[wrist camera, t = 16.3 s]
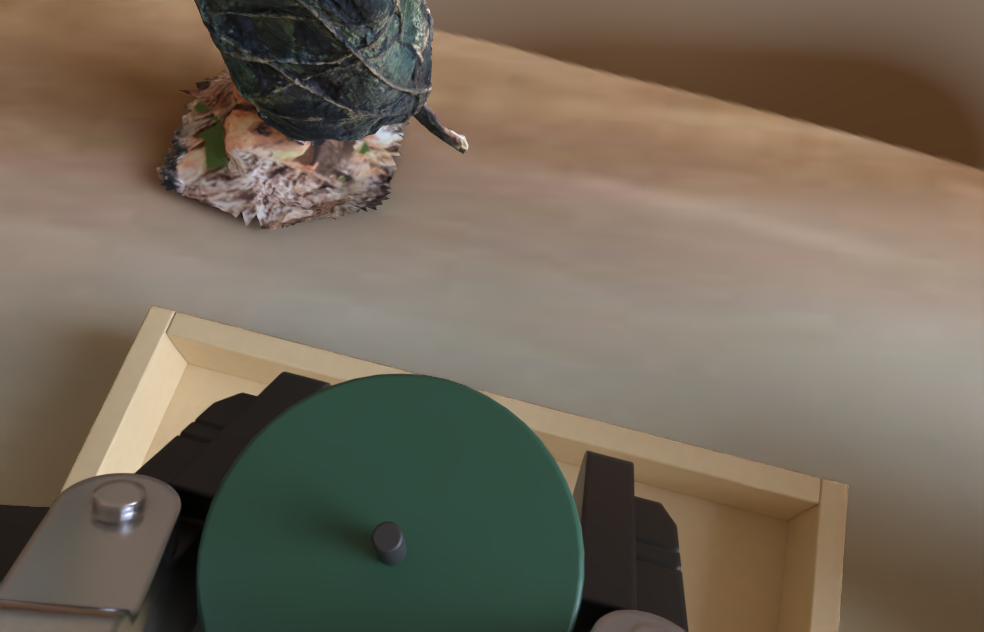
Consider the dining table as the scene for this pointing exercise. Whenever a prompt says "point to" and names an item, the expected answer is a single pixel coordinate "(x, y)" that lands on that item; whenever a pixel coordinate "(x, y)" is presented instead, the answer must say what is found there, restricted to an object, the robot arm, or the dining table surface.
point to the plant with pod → (304, 107)
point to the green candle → (392, 519)
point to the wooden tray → (657, 461)
